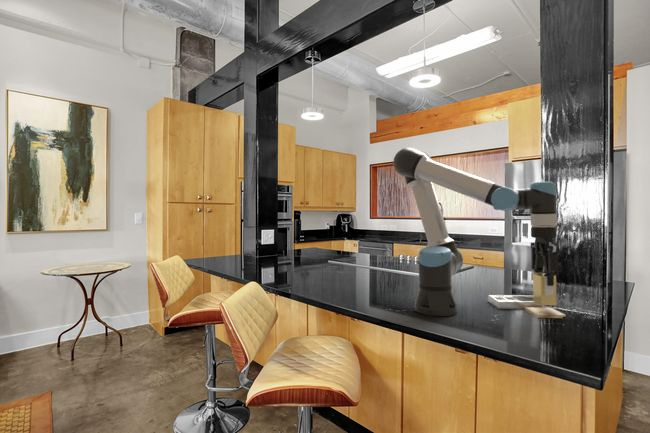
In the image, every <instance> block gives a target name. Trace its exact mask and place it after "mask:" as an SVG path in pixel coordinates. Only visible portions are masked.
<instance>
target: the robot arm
mask: <svg viewBox="0 0 650 433" xmlns="http://www.w3.org/2000/svg"><path fill="white" fill-rule="evenodd" d="M392 164H393V168H394V170H395V171H396V173H397V174H398V175H399V176H402V177H404V180H405V183H406V186H407V187H409V188H410V189H411V191H412V194H413V197H414V200H415V203H416V206H417V210H418V213H419V217H420V219H421V223H422V226H423V231H424V234H425V237H426V239H427V245H426V246H425V247H422V248H421V249H420V250H419V252H418V259H417V260H418V292H417V295H416V298H415V302H414V311H416V312H417V313H419V314H422V315H425V316H433V317H448V316H449V317H450V316H454V315H456V314H457V313H458V305H457V303H456V299H455V297H454V294H453V289H452V286H453V284H452V283H453V282H452V281H453V280H452V278H453V277H452V276H454V275H455V276H456V274H458V273H459V272H460V271H461V269H462V267H463V264H464V257H463V254H462V253H461V251H460V250H459V249H458V248H457V245H456V242H455V240H454V239H453V238H452V237H450V235H449V232H448V230H447V226H446V222H445V219H444V216H443V212H442V210H441V206H440V204H439V203H440V202H439V200H438V197H437V194H436V190H435V186H434V185H437V186H441V187H443V188H445V189H448V190H451V191H454V192H456V193H459V194H460V195H463V196H466V197H469V198H471V199H474V200H477V201H479V202H482V203H483V204H486V205H489V206H491V207H493V209H494V211H495V210H496V211H503V212H505V211H515V210H517V211H519V210H520V211H521V210H522V211H523V210H527V211H528V210H530V226H531V228H530V237H531V238H534V239H535V240H534V242H530V243H529V244H530V251H531V252H530V255H531V258H530V259H531V260H530V261H531V263H530V264H531V265H530V267H531V270H533V272H534V274H544V295H554V276H559V255H558V254H559V250H560V249H559V248H560V246H558V245H555V244H554V240H553V239H556V238H557V236H558V232H557V227H556V226H557V219H558V217H557V188H556V183H555V182H553V181H537V182H536V181H535V182H531V183H530V185H529V187H527V188H511V187H509V186H505V185H502V184H500V183H496V182H493V181H491V180H488V179H485V178H482V177H479V176H477V175H475V174H471V173H468V172H465V171H462V170H459V169H457V168H454V167H452V166H449V165H446V164H443V163H440V162H437V161H434V160H433V159H432V157H431V156H430V155H429V154H428V153H427V152H425V151H422V150H419V149H415V148H414V147H413V148H412V147H405V148H402V149H400V150H399V151H397V153H396V154H395V155H394V157H393V163H392Z"/></svg>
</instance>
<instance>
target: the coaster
mask: <svg viewBox="0 0 650 433" xmlns="http://www.w3.org/2000/svg"><path fill="white" fill-rule="evenodd" d="M550 307H551V306H550ZM550 307H524V309H523V310H524V311H525V312H527V313H528V314H530V315H532V316H534V317H535V318H537V319H538V318H539V319H564V318H563V317H566V318H567V316H566V314H565V313H563V312H561V311H559V310H557V309H554V308H553V307H551V308H550Z"/></svg>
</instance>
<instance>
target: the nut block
mask: <svg viewBox="0 0 650 433" xmlns="http://www.w3.org/2000/svg"><path fill="white" fill-rule="evenodd" d="M544 274H545V273H544ZM544 274H535V273H532V275H533V276H532V277H533V278H532V279H533V280H532V283H533V285H532V290H533V294H532V295H533V298H534V302H536V303H537V304H539V305H550V306H557V305H558V304H557V275H555V276H554V295H544Z"/></svg>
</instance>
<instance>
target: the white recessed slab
mask: <svg viewBox="0 0 650 433" xmlns="http://www.w3.org/2000/svg"><path fill="white" fill-rule="evenodd" d="M487 302H489V304H491V305H492V306H494V307H496V308H497V309H498V310H499V309H501V310H505V309H509V310H510V309H511V310H514V309H515V310H524V307H542V306H544V305H539V304H537V303H536V302H534V298H533V294H532V295H530V294H529V295H528V294H527V295H523V294H522V295H521V294H518V295H516V294H510V295H509V294H495V295H494V294H488V295H487Z"/></svg>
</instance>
